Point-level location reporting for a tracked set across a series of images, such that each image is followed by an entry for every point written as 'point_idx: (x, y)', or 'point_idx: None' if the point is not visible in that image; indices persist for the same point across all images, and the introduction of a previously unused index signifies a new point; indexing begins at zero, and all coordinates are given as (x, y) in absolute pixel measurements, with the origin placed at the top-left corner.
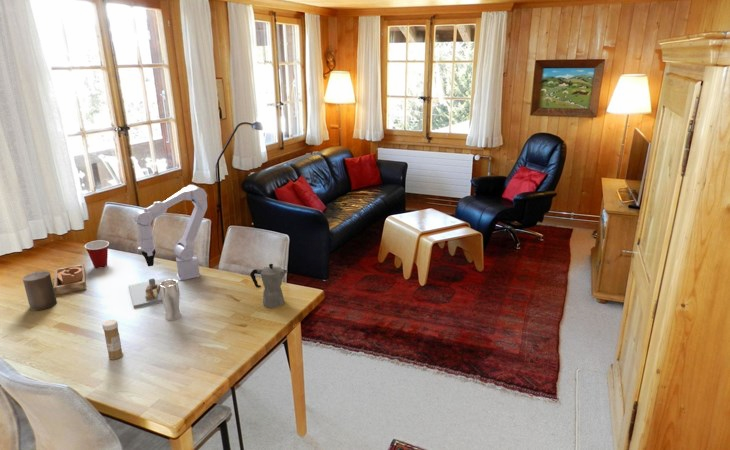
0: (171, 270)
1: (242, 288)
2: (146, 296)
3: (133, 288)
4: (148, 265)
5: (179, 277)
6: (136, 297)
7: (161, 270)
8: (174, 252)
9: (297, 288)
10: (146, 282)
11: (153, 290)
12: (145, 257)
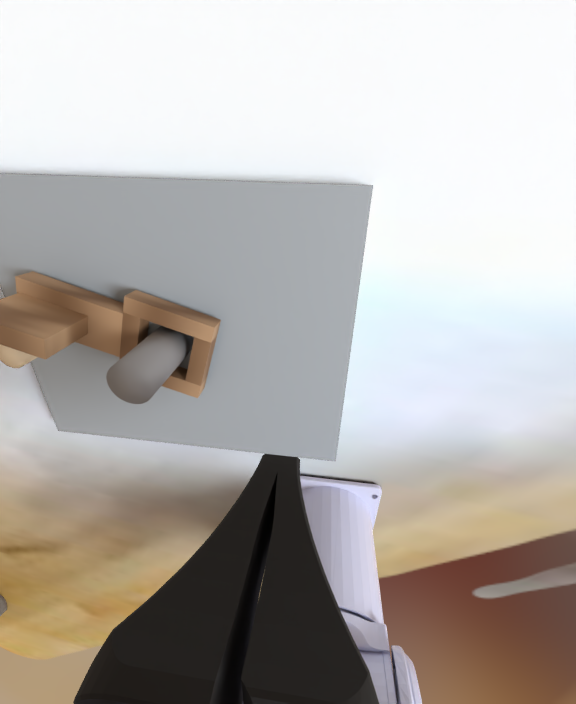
0: (476, 482)
1: (100, 586)
2: (17, 283)
3: (278, 216)
4: (259, 466)
5: (315, 487)
6: (93, 213)
7: (532, 444)
8: (391, 690)
9: (60, 648)
10: (342, 327)
11: (3, 347)
12: (168, 586)
